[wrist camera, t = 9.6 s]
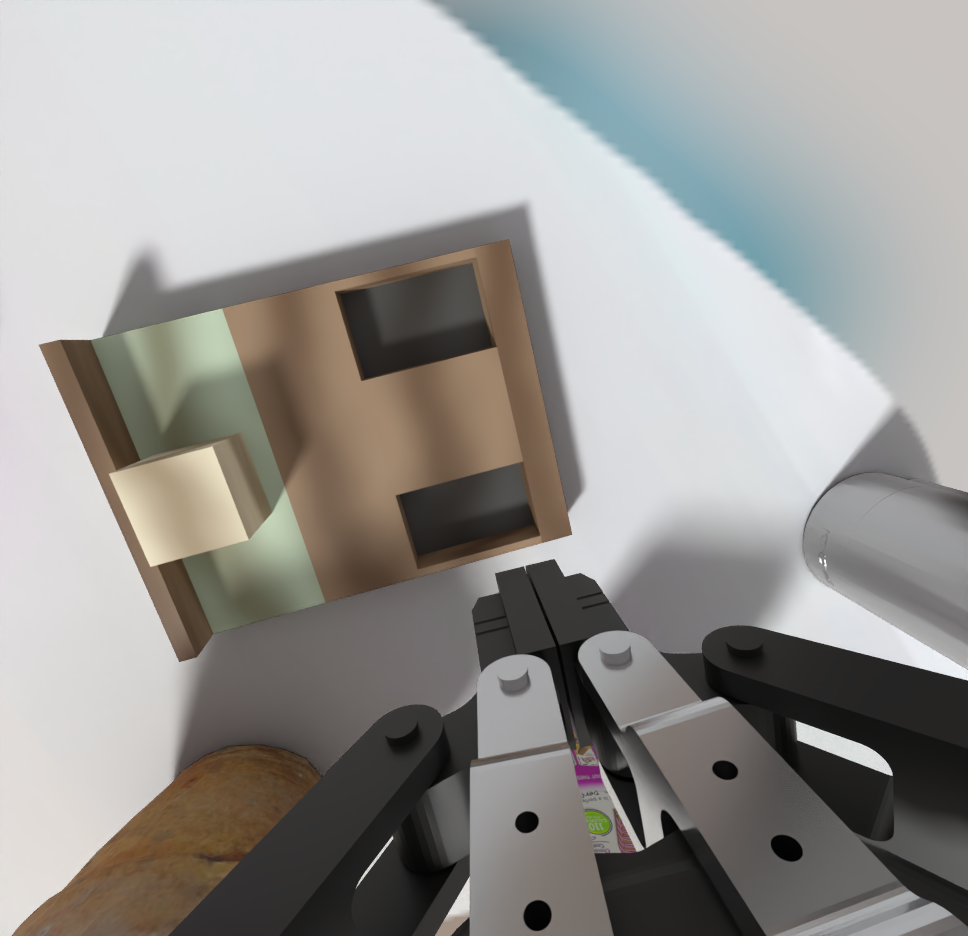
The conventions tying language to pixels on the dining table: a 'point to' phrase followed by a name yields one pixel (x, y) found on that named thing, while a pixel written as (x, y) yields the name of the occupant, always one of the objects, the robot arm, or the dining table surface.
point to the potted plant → (178, 846)
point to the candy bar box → (599, 805)
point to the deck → (334, 433)
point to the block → (193, 498)
